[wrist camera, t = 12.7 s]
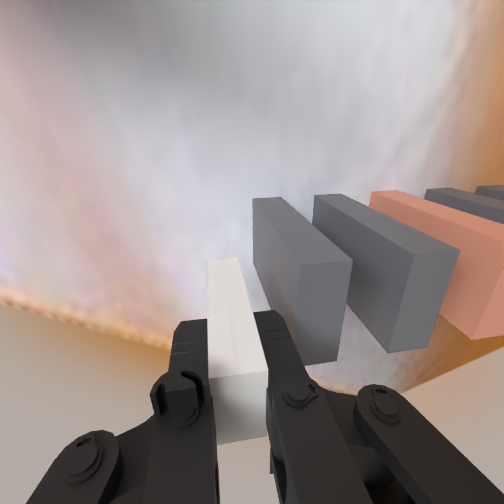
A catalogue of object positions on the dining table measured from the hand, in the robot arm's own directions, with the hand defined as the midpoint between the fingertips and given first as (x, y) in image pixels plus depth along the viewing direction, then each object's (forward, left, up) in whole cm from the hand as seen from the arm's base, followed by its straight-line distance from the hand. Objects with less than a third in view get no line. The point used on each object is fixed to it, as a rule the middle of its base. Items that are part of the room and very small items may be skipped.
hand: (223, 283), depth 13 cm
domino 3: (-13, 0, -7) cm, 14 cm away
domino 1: (-4, 0, -7) cm, 8 cm away
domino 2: (-8, 0, -7) cm, 11 cm away
